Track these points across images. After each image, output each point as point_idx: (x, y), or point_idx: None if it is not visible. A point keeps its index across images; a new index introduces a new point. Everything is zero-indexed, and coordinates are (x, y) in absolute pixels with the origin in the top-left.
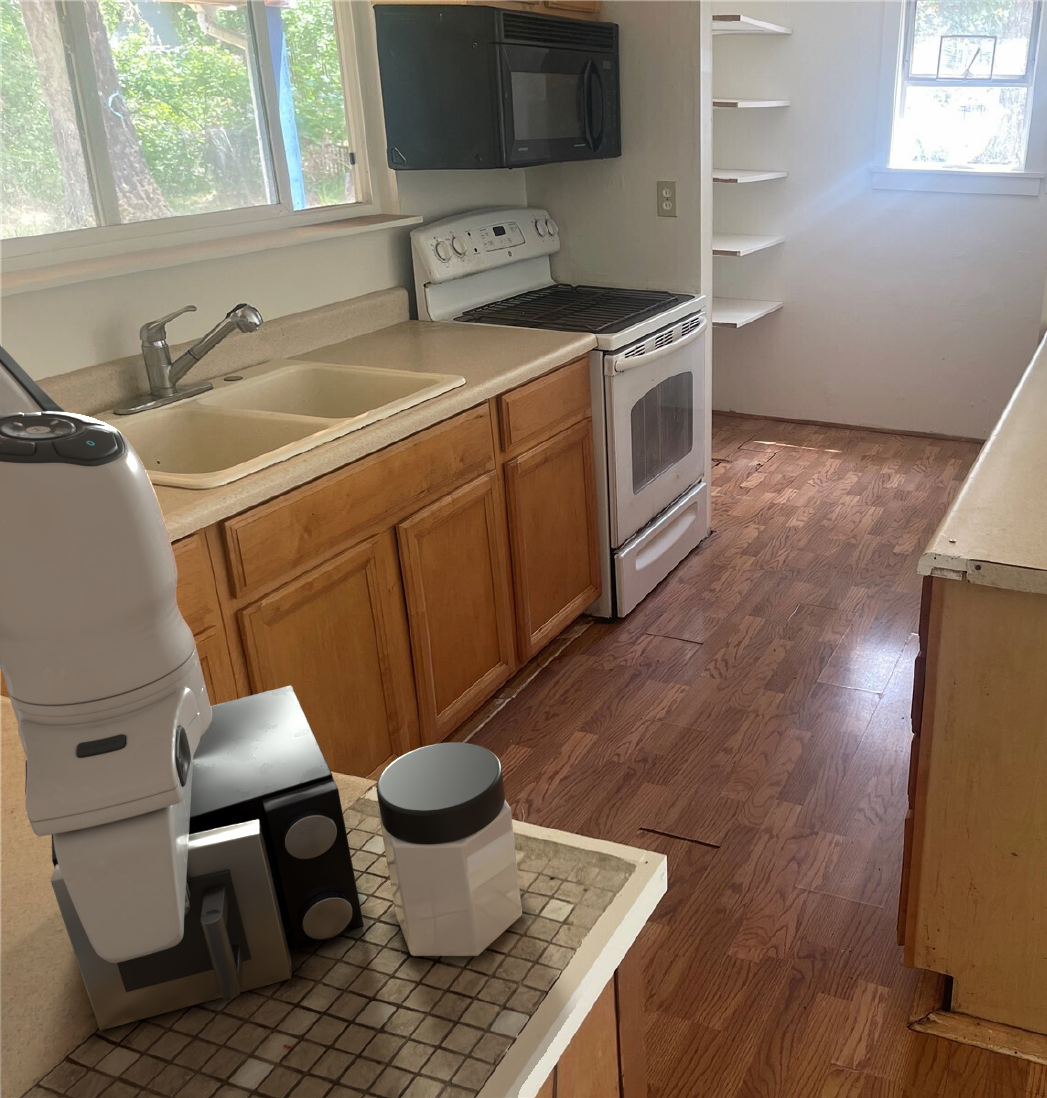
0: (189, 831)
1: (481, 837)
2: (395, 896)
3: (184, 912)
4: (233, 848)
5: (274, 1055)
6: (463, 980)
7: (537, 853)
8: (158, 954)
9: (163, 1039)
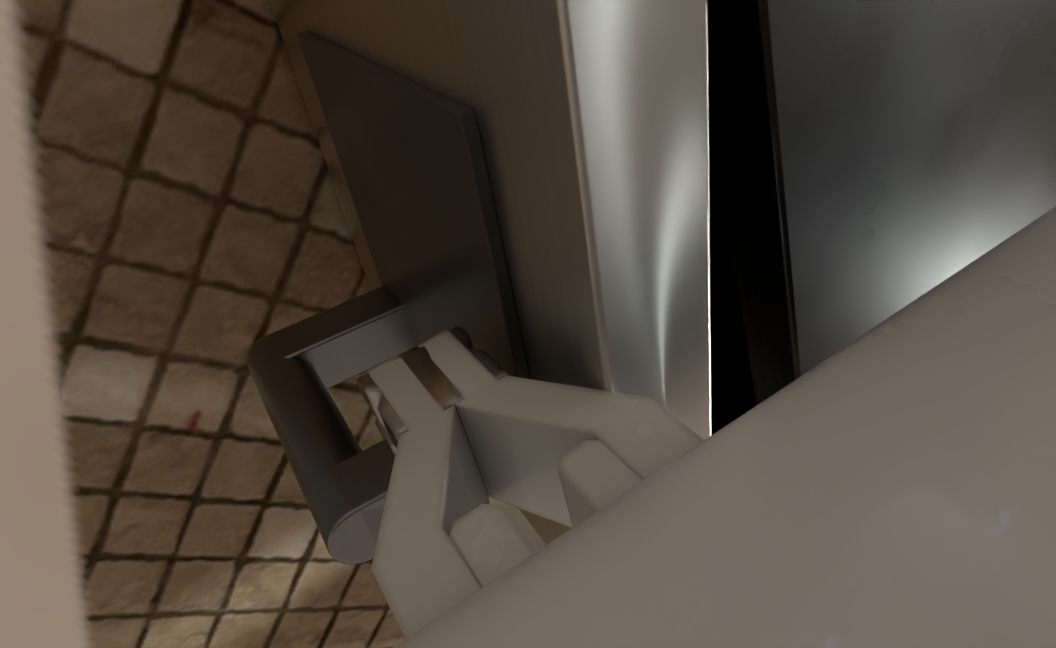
0: (751, 371)
1: None
2: (533, 530)
3: (389, 449)
4: None
5: (166, 406)
6: (358, 620)
7: None
8: (372, 176)
9: (213, 117)
